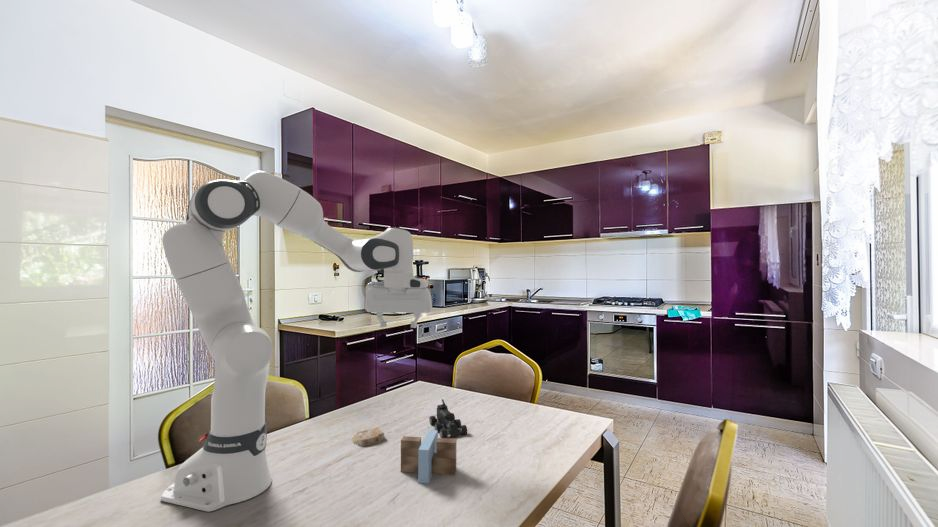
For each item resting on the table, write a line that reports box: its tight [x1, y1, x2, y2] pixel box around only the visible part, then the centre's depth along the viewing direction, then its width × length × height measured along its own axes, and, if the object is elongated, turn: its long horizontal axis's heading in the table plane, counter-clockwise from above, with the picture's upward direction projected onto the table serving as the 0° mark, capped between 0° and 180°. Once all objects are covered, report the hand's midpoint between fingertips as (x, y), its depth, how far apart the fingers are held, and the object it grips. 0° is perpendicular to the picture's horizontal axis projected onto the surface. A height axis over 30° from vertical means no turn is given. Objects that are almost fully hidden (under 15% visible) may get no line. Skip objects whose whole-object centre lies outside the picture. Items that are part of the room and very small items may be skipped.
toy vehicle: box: [429, 399, 468, 438], centre depth 130 cm, size 8×15×9 cm, turn 22°
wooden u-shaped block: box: [400, 435, 457, 476], centre depth 103 cm, size 14×2×8 cm, turn 84°
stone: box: [351, 426, 385, 447], centre depth 121 cm, size 9×6×3 cm
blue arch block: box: [417, 429, 439, 484], centre depth 103 cm, size 12×2×8 cm, turn 174°
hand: (398, 327), depth 122 cm, fingers open, 8 cm apart
